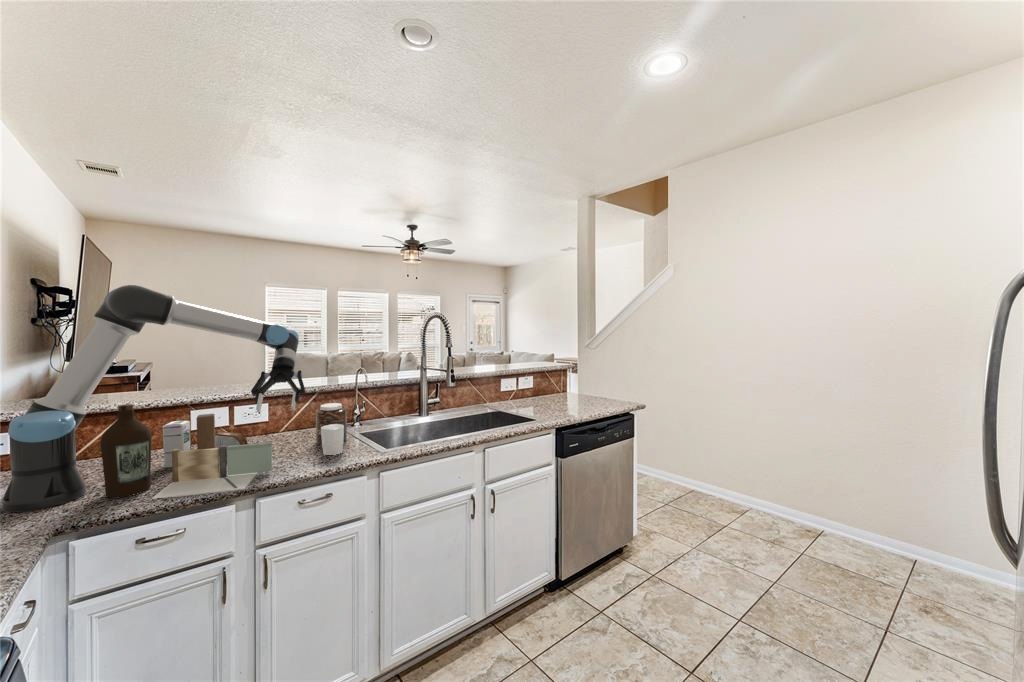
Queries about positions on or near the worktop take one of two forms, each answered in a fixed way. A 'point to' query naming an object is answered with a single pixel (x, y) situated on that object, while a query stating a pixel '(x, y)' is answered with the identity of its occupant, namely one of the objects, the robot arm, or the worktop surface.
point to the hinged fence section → (249, 458)
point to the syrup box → (175, 439)
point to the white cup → (332, 439)
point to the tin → (229, 439)
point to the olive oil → (126, 455)
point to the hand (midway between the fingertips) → (275, 409)
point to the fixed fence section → (199, 464)
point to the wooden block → (205, 431)
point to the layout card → (206, 486)
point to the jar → (330, 418)
